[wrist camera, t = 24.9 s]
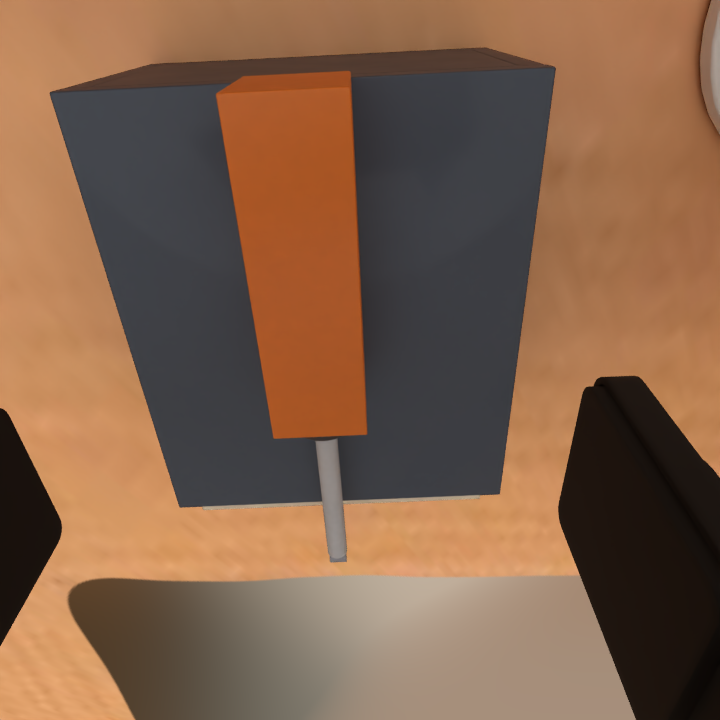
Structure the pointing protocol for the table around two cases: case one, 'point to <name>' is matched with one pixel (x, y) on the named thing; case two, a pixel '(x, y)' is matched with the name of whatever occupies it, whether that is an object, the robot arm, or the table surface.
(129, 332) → the dresser
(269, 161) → the screwdriver
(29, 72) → the table surface
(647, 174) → the table surface
